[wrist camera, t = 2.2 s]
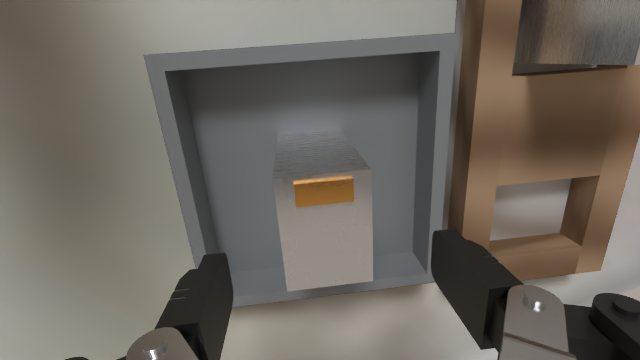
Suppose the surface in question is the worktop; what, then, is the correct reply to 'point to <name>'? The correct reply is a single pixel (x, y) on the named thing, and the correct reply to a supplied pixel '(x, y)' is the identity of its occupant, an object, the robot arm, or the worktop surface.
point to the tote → (299, 117)
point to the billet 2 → (579, 32)
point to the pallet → (535, 148)
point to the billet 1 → (323, 210)
